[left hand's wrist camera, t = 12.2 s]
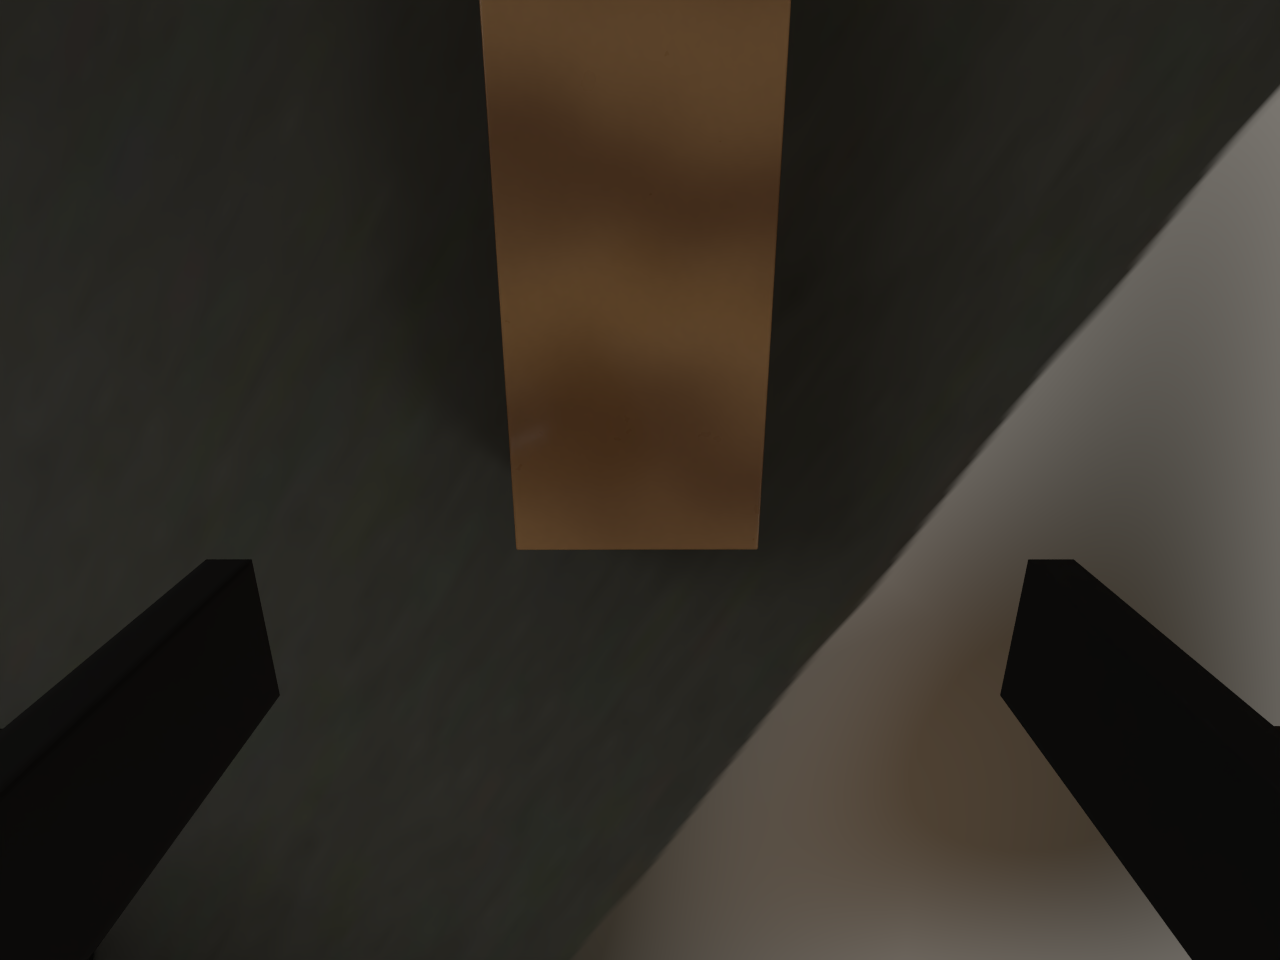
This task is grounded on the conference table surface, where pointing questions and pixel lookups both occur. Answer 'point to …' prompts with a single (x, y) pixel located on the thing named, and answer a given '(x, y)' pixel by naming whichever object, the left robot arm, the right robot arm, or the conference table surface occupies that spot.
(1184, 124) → the conference table surface
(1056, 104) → the conference table surface
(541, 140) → the wide beam
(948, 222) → the conference table surface
